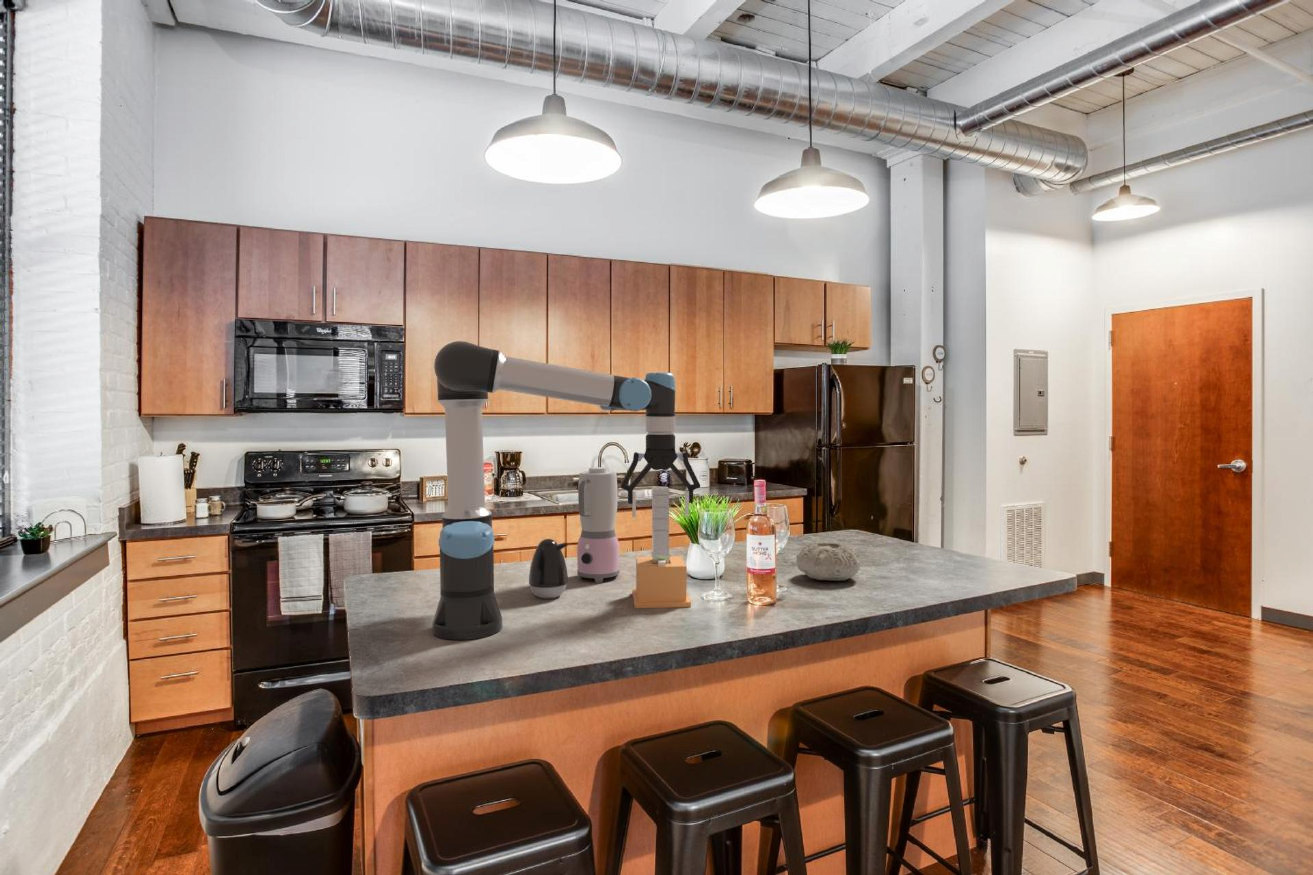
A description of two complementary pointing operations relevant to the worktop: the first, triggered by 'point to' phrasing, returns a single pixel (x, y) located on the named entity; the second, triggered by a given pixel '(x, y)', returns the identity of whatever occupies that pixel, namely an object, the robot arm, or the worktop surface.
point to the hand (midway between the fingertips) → (660, 516)
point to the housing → (660, 583)
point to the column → (660, 524)
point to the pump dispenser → (548, 570)
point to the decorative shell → (828, 561)
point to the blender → (597, 525)
